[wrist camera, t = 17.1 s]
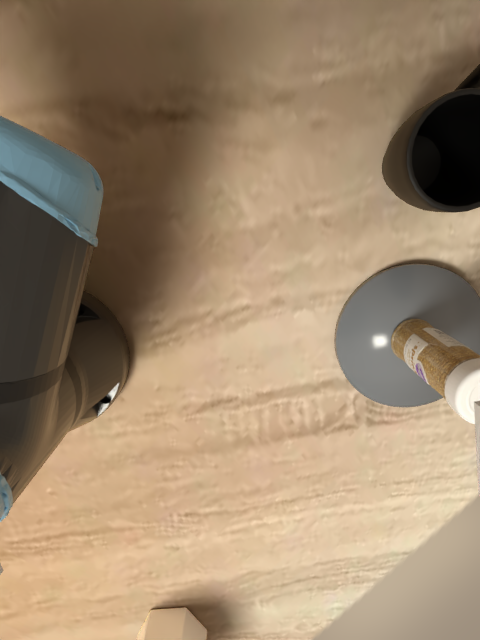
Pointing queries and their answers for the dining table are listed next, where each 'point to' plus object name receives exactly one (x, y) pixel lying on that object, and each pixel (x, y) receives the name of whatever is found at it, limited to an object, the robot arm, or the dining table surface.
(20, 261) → the robot arm
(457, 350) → the sprinkles bottle
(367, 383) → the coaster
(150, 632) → the jar
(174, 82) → the dining table surface
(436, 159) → the mug
